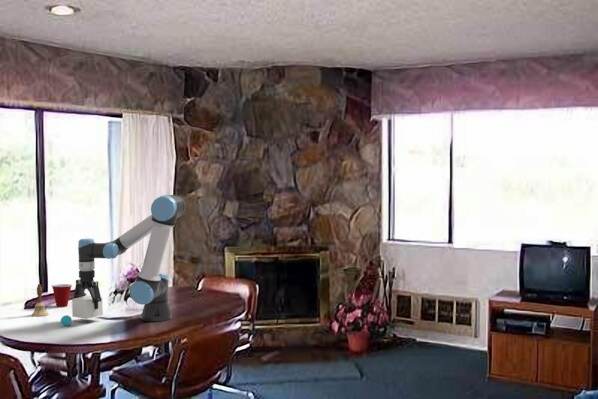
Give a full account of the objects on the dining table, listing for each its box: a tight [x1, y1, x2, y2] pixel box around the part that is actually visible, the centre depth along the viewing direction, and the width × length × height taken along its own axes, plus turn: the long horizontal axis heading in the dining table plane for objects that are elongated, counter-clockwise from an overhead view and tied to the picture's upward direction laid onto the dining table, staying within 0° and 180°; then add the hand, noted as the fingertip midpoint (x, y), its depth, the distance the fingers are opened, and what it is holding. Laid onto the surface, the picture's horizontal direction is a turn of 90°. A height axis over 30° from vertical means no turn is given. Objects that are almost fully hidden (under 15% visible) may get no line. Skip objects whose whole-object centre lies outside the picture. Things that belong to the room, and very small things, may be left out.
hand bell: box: [31, 283, 49, 318], centre depth 360 cm, size 8×8×16 cm
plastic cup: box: [51, 283, 73, 308], centre depth 382 cm, size 11×11×12 cm
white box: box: [71, 295, 104, 320], centre depth 346 cm, size 10×10×9 cm
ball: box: [60, 315, 73, 327], centre depth 336 cm, size 5×5×5 cm
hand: (87, 314), depth 346 cm, fingers closed on white box, 10 cm apart
